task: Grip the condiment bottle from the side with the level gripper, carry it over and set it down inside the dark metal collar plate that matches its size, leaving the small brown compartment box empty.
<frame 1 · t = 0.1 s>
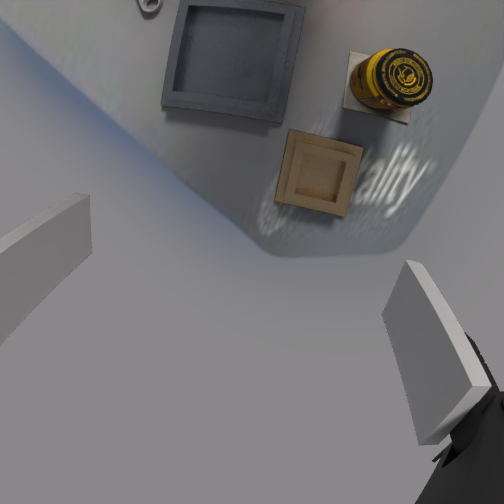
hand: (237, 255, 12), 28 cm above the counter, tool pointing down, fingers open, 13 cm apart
condiment: (380, 86, 32), on the counter
small brown compartment box: (318, 173, 38), on the counter
large collar: (230, 53, 32), on the counter
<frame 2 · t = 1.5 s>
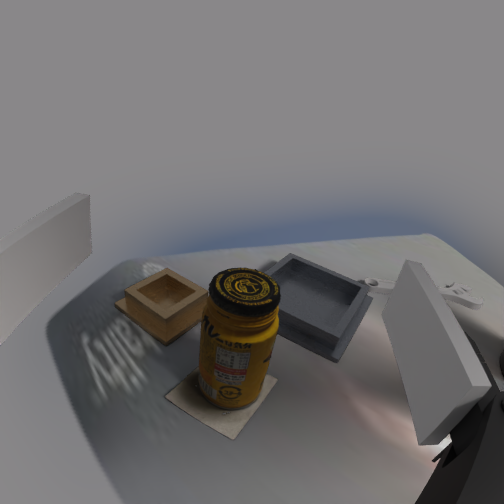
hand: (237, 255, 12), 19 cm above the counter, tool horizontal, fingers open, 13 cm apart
condiment: (223, 392, 28), on the counter
adjustable wrench: (426, 295, 49), on the counter
small brown compartment box: (166, 308, 37), on the counter
large collar: (306, 304, 42), on the counter
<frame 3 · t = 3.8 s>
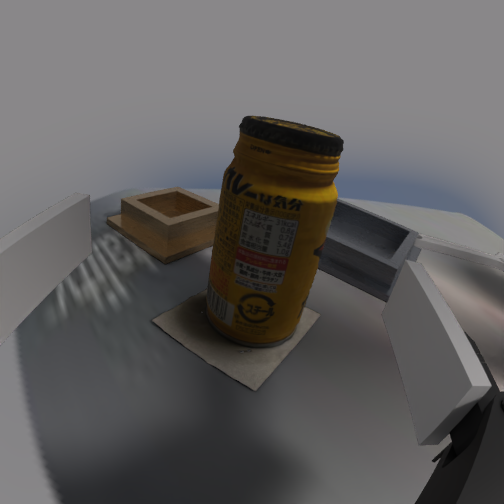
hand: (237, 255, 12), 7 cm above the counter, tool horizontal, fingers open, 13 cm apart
condiment: (241, 324, 20), on the counter
adjustable wrench: (471, 260, 39), on the counter
small brown compartment box: (171, 229, 29), on the counter
large collar: (346, 245, 33), on the counter
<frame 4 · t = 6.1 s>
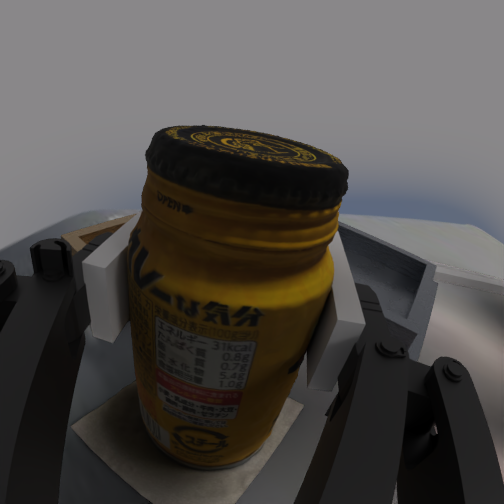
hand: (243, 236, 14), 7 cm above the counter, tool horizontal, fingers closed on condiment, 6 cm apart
condiment: (192, 428, 13), on the counter, touching gripper
adjustable wrench: (489, 289, 32), on the counter
small brown compartment box: (125, 272, 22), on the counter
large collar: (349, 285, 26), on the counter
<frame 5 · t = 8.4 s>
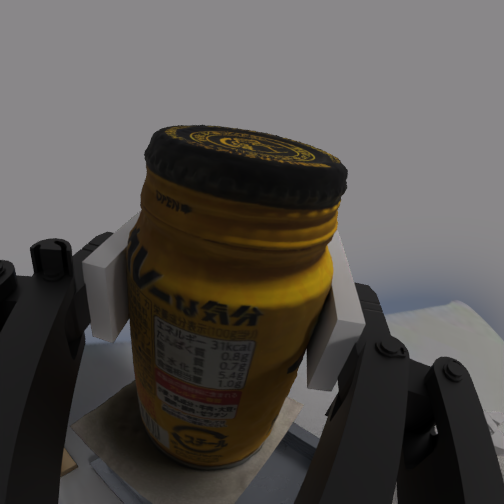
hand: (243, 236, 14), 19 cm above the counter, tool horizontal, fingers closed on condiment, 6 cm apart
condiment: (192, 428, 13), point 11 cm above the counter, touching gripper
adjustable wrench: (438, 439, 25), on the counter
large collar: (228, 478, 20), on the counter
when the fingers open (9 cm above the counter, at t = 10.8 s): condiment drops 1 cm, resting on large collar.
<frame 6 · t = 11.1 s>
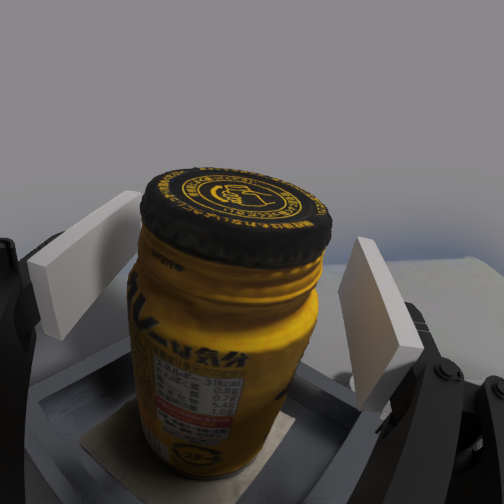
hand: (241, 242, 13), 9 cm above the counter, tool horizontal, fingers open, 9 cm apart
condiment: (190, 440, 13), resting on large collar
large collar: (201, 447, 14), on the counter
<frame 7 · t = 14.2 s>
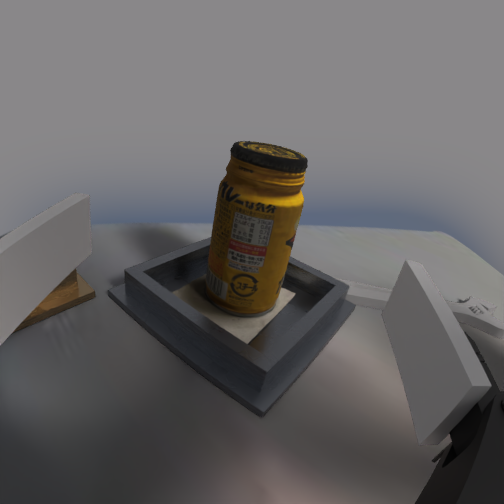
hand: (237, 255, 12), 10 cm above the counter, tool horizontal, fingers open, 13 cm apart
condiment: (233, 300, 26), resting on large collar
adjustable wrench: (427, 312, 31), on the counter
small brown compartment box: (28, 288, 22), on the counter
large collar: (239, 306, 26), on the counter
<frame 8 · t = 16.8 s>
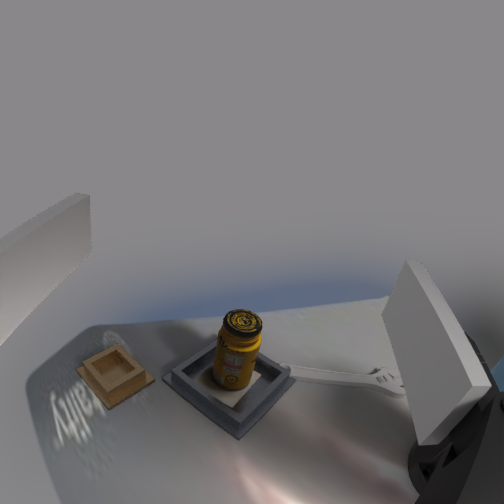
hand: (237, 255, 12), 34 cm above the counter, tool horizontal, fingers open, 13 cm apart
condiment: (227, 380, 47), resting on large collar
adjustable wrench: (345, 380, 52), on the counter, touching large collar
small brown compartment box: (114, 376, 43), on the counter
large collar: (230, 382, 47), on the counter
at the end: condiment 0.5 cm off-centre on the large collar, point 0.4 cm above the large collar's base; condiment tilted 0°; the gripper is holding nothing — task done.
